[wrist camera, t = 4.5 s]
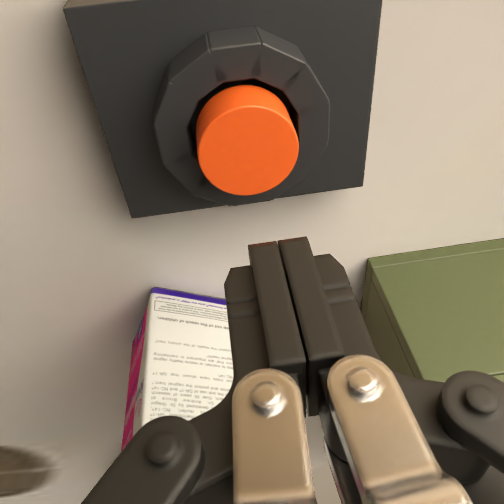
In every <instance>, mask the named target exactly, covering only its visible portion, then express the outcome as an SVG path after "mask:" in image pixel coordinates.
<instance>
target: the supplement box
mask: <svg viewBox="0 0 504 504" xmlns="http://www.w3.org/2000/svg"><path fill="white" fill-rule="evenodd" d="M232 382H233V362H232V353H231V344H230V335H229V325H228V316H227V307H226V299H224V298H218V297H211V296H205V295H199V294H194V293H187V292H183V291H177V290H171V289H166V288H159V287H154V288H152V289H151V292H150V296H149V300H148V303H147V307H146V310H145V312H144V315H143V318H142V320H141V323H140V326H139V329H138V331H137V334H136V336H135V338H134V340H133V346H132V355H131V365H130V374H129V383H128V393H127V403H126V412H125V421H124V432H123V441H122V450H123V449H124V448H125V447H126V445H127V444H128V443H129V442H130V440H131V439H132V438H133V436H134V435H135V434H136V433H137V431H138V430H139V429H140V428H141V427H142V426H144V425H145V424H146V423H148V422H149V421H151V420H153V419H155V418H158V417H162V416H168V415H171V416H178V417H182V418H184V419H186V420H188V421H189V420H191V419H193V418H195V417H196V416H198V415H200V414H202V413H204V412H206V411H208V410H210V409H212V408H214V407H215V406H216V405H218V404H219V403H220V402H221V401H222V400H223V399H224V398H225V396H226V395H227V394H228V392H229V390H230V388H231V385H232ZM122 450H121V452H122Z"/></svg>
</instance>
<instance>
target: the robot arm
mask: <svg viewBox="0 0 504 504" xmlns="http://www.w3.org/2000/svg"><path fill="white" fill-rule="evenodd" d="M248 250H249V259H250V265H249V266H243V267H236V268H231V269H230V271H229V274H228V276H227V279H226V281H225V283H224V288H225V298H226V307H227V316H228V325H229V335H230V344H231V353H232V362H233V382H232V385H231V388H230V390H229V392H228V394H227V395H226V396H225V398H224V399H223V400H222V401H221V402H220V403H219V404H218V405H216V406H215V407H214V408H212V409H210V410H208V411H206V412H204V413H202V414H200V415H198V416H196V417H195V418H193V419H191V420H189V421H188V420H186V419H184V418H182V417H178V416H171V415H168V416H162V417H158V418H155V419H153V420H151V421H149V422H148V423H146V424H145V425H144V426H142V427H141V428H140V429H139V430H138V431H137V433H136V434H135V435H134V436H133V438H132V439H131V440H130V442H129V443H128V444H127V445H126V447H125V448H124V449H123V450H122V452H121V453H120V454H119V456H118V457H117V458H116V459H115V461H114V462H113V463H112V465H111V466H110V467H109V468H108V470H107V471H106V472H105V474H104V475H103V476H102V477H101V479H100V480H99V481H98V483H97V484H96V485H95V486H94V488H93V489H92V490H91V492H90V493H89V494H88V495H87V497H86V498H85V499H84V501H83V502H82V503H81V504H317V502H316V497H315V491H314V484H313V477H312V469H311V462H310V455H309V448H308V441H307V434H306V426H305V417H306V407H307V412H308V416H316V415H319V416H320V420H321V424H322V428H323V432H324V440H323V443H324V450H325V453H326V456H327V459H328V463H329V466H330V469H331V472H332V475H333V478H334V481H335V484H336V487H337V491H338V494H339V497H340V500H341V503H342V504H504V382H502V381H500V380H498V379H497V378H495V377H493V376H491V375H489V374H486V373H483V372H479V371H471V370H470V371H461V372H458V373H455V374H453V375H452V376H450V377H449V378H448V379H447V380H446V381H445V382H439V381H432V380H425V379H419V378H413V377H408V376H406V375H403V374H400V373H398V372H396V371H395V370H393V369H391V368H390V367H389V366H388V365H386V364H385V363H384V362H383V361H382V360H381V358H380V357H379V356H378V354H377V352H376V350H375V348H374V345H373V343H372V340H371V337H370V335H369V332H368V330H367V327H366V324H365V322H364V319H363V317H362V314H361V311H360V309H359V306H358V304H357V301H356V300H355V296H354V293H353V291H352V288H351V287H350V283H349V280H348V278H347V275H346V272H345V270H344V267H343V266H342V265H341V264H340V263H339V262H338V261H337V260H336V259H335V258H334V257H333V256H332V255H330V254H325V255H318V256H313V254H312V251H311V247H310V244H309V241H308V239H307V237H300V238H293V239H286V240H279V241H278V245H277V242H276V241H273V242H266V243H259V244H252V245H248Z"/></svg>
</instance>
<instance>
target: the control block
mask: <svg viewBox="0 0 504 504" xmlns="http://www.w3.org/2000/svg"><path fill="white" fill-rule="evenodd" d="M381 7H382V0H68V2H67V3H66V5H65V6H64V8H63V11H64V14H65V17H66V20H67V23H68V26H69V29H70V32H71V35H72V38H73V42H74V45H75V48H76V51H77V54H78V57H79V60H80V63H81V66H82V69H83V72H84V75H85V78H86V81H87V84H88V87H89V90H90V93H91V96H92V99H93V102H94V105H95V108H96V111H97V114H98V117H99V120H100V123H101V126H102V129H103V132H104V135H105V138H106V141H107V144H108V147H109V150H110V153H111V156H112V159H113V163H114V166H115V169H116V172H117V175H118V178H119V181H120V184H121V187H122V190H123V193H124V196H125V199H126V202H127V205H128V208H129V211H130V214H131V217H132V218H140V217H147V216H154V215H161V214H168V213H175V212H183V211H190V210H197V209H204V208H211V207H218V206H225V205H228V206H231V205H232V206H236V205H243V204H250V203H257V202H264V201H270V200H273V199H275V198H282V197H290V196H297V195H304V194H311V193H318V192H325V191H332V190H339V189H347V188H354V187H361V186H363V179H364V169H365V160H366V150H367V141H368V131H369V122H370V112H371V103H372V93H373V84H374V74H375V64H376V55H377V45H378V36H379V26H380V17H381ZM238 85H253V86H258V87H261V88H264V89H266V90H268V91H270V92H272V93H273V94H274V95H276V96H277V97H278V98H279V99H280V100H281V101H282V103H283V104H284V106H285V107H286V109H287V112H288V114H289V116H290V119H291V121H292V124H293V126H294V129H295V131H296V134H297V137H298V142H299V152H298V157H297V160H296V163H295V165H294V167H293V169H292V171H291V172H290V174H289V175H288V176H287V177H286V178H285V179H284V180H283V181H282V182H281V183H280V184H279V185H277V186H276V187H274V188H272V189H270V190H268V191H266V192H263V193H260V194H255V195H234V194H230V193H227V192H225V191H222V190H221V189H219V188H217V187H216V186H214V185H213V184H212V183H211V182H210V181H209V180H208V179H207V178H206V177H205V175H204V174H203V172H202V170H201V168H200V165H199V161H198V154H197V141H196V124H197V120H198V117H199V114H200V112H201V110H202V108H203V107H204V106H205V104H206V103H207V102H208V101H209V100H210V99H211V98H212V97H213V96H214V95H216V94H217V93H219V92H220V91H223V90H225V89H227V88H230V87H233V86H238Z"/></svg>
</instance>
